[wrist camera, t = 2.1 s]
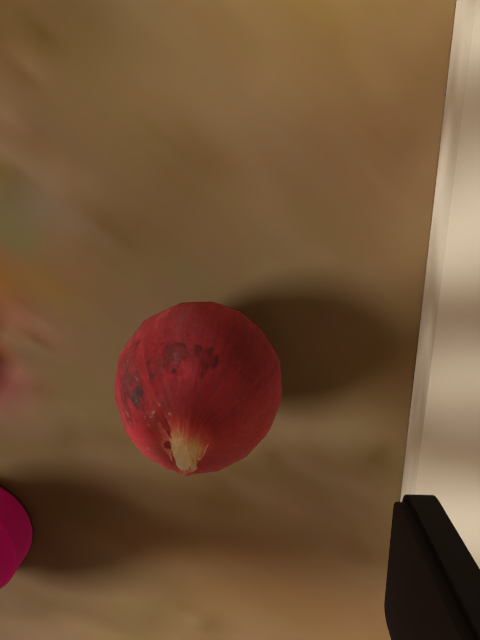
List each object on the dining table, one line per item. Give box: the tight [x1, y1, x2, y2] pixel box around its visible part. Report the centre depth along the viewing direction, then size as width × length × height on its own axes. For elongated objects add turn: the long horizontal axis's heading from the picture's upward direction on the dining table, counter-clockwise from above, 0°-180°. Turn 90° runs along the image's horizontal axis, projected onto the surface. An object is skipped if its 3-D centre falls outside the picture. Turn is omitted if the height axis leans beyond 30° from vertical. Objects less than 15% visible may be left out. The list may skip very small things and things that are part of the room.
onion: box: [115, 302, 282, 476], centre depth 14 cm, size 6×6×8 cm
